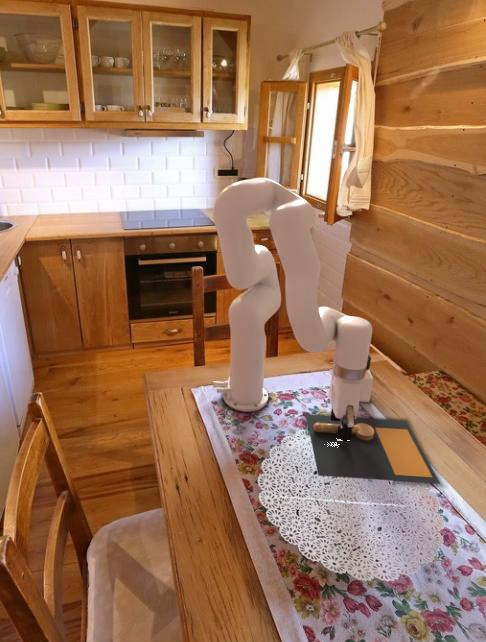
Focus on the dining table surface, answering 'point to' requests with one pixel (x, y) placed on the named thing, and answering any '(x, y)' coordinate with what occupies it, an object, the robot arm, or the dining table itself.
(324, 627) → the dining table surface
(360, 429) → the wooden rod with disc
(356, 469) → the mat
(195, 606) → the dining table surface
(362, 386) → the container
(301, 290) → the robot arm
